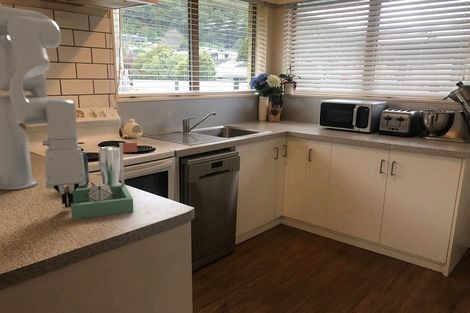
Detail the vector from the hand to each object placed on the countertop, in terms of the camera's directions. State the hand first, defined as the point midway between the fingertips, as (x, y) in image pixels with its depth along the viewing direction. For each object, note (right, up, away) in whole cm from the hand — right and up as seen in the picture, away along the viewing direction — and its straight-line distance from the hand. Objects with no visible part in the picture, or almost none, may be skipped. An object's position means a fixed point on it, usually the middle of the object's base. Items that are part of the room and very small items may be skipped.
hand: (67, 205), depth 107 cm
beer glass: (+6, +2, +20) cm, 21 cm away
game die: (+9, -1, +2) cm, 9 cm away
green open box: (+10, -1, +5) cm, 11 cm away
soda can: (-7, +4, +25) cm, 26 cm away
